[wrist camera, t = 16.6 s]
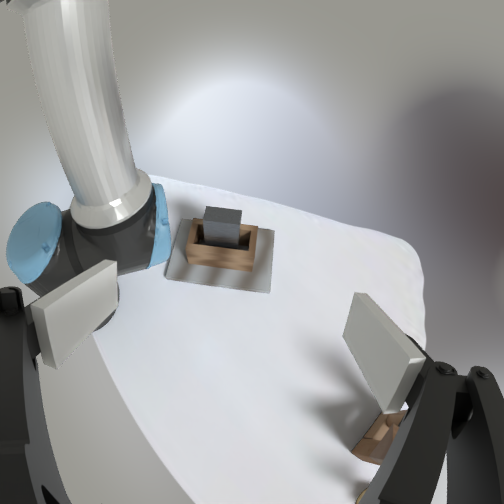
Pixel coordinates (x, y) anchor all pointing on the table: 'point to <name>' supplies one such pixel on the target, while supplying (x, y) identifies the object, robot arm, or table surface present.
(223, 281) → the post slot
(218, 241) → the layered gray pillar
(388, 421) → the wooden angular frame
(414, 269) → the table surface
